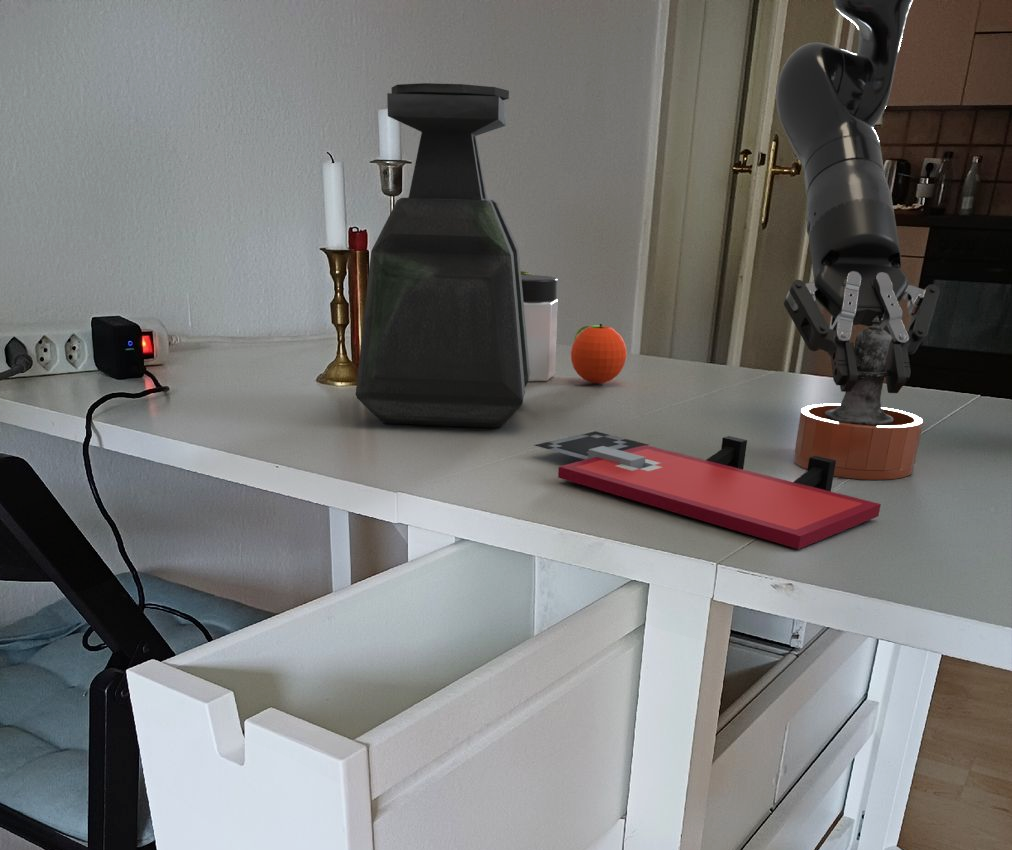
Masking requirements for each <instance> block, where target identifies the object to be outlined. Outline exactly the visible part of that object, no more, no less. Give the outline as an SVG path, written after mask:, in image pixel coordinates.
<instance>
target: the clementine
mask: <svg viewBox="0 0 1012 850" xmlns="http://www.w3.org/2000/svg"><path fill="white" fill-rule="evenodd" d="M627 356H628V355H627V346H626V343H625V341H624V339H623V337H622V335H621V334H620V333H619V332H617V331H616V330H615V328H613V327H610V326H606V325H605V326H604V325H603V323H599V325H598V324H597V325H596V324H594V325H585V326H582V327H580V328H579V329H578V330H577V332H576V333H575V335H574V338H573V344H572V346H571V351H570V359H571V364H572V367H573V369H574V371H575V372H576V373H577V375H578V376H579V377H580V378H581V379H583V380H584V381H587V382H588V383H590V384H604V383H605V384H606V383H608V382H610V381H612V380H613V379H615V378H616V377H618V375H620V373H621V371H622V370H623V368H624V366H625V364H626V360H627Z"/></svg>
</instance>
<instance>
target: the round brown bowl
mask: <svg viewBox="0 0 1012 850" xmlns="http://www.w3.org/2000/svg"><path fill="white" fill-rule="evenodd" d="M840 405H841V403H823V404H822V403H820V404H812V405H807V406H805V407H802V408H801V409H800V415H799V421H798V427H797V432H796V433H797V434H796V440H795V445H794V453H793V454H794V455H793V462H794V464H795V465H796V466H799V467H800V468H802V469H805V470H807V469H808V463H809V458H810V457H813V456H819V457H823V458H828V459H832V460H836V465H835V470H834V476H833V477H837V478H844V479H852V480H853V479H854V480H867V481H868V480H870V481H882V480H883V481H885V480H896V479H897V480H898V479H902V478H906V477H909V476H911V475H912V473H913V471H914V467H915V464H916V460H917V455H918V450H919V446H920V440H921V437H922V436H921V435H922V432H923V428H924V427H923V426H924V421H923V418H922V417H919V416H918V415H916V414H913V413H910V412H906V411H903V410H899V409H894V408H888V407H882V406H881V409H882V410H883V412H884V413H885V414H887V415H889V416H891V417H893V422H892V423H890V424H889V426H868V425H856V424H848V423H841V422H835V421H830V420H828V418H827V417H826V416H825V412H827V411H828V410H833V409H836V408H837V407H838V406H840Z"/></svg>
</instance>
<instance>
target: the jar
mask: <svg viewBox="0 0 1012 850" xmlns="http://www.w3.org/2000/svg"><path fill="white" fill-rule="evenodd" d="M521 280H522V291H523V301H524V312H525V323H526V334H527V344H528V355H529V366H530V376H529V380H528V383H529V382H548V381H549V380H550V379H551V378H553V377H554V376H555V373H556V358H557V357H556V356H557V354H556V353H557V336H558V335H557V333H558V312H559V300H558V278H557V277H555V276H551V275H550V276H548V275H538V274H532V275H521Z"/></svg>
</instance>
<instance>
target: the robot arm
mask: <svg viewBox="0 0 1012 850" xmlns="http://www.w3.org/2000/svg"><path fill="white" fill-rule="evenodd" d="M913 1H914V0H832V2H833V6H834V8H835V9H836V10H837V12H839V13H840V14H841V15H842V16H843V17H844V18H846V19H847V20H849V21H850V22H851V23H853V24H854V25H855V26H856V28H857V30H858V31H857V32H858V44H857V51H856V53H853V52H850V51H848V50H845V49H842V48H839V47H836V46H834V45H831V44H829V43H824V42H809V43H806V44H803V45H802V46H800V47H798V48H797V49H796V50H794V52H792V53H791V54H790V55H789V57H788V58H787V60H786V61H785V62H784V64H783V66H782V68H781V71H780V73H779V76H778V80H777V85H776V94H775V95H776V97H775V98H776V99H775V100H776V102H775V103H776V109H777V111H776V112H777V115H778V118H779V122H780V124H781V126H782V129H783V131H784V134H785V135H786V138H787V139H788V142H789V144H790V146H791V148H792V150H793V152H794V154H795V157H796V158H797V160H798V162H799V163H800V165H801V167H802V169H803V179H804V187H805V195H806V233H807V236H808V242H809V250H810V259H811V266H812V274H813V275H812V276H813V281H811V282H807V283H805V282H804V281H803V280H801V279H795V280H793V281H792V283H791V285H790V287H789V289H788V292H787V294H786V296H785V298H784V300H783V306H784V308H785V309H786V311H787V313H788V315H789V317H790V318H791V321H792V322H793V324H794V325H795V327H796V329H797V331H798V333H799V335H800V337H801V338H802V340H803V343H804V344H805V345H806V347H807V349H808V350H810V351H811V352H818V351H819V350H820V351H824V352H826V353H827V354H828V356H829V357H830V362H831V371H832V379H833V382H834V384H835V385H836V386H839V387H840V388H839V389H840V392H842V393H846V392H850V391H851V390H852V388H853V387H854V385H855V383H856V382H857V378H858V373H857V366H856V358H855V351H854V346H855V342H850V339H851V337H852V333H853V331H852V330H853V326H858V325H860V326H861V325H862V326H865V327H867V328H869V327H870V326H872V325H873V322H872V321H873V320H874V318H876V316H878V318H879V321H880V322H879V324H878V326H879V327H881V329H883V330H885V331H886V332H887V333H888V334H889V336H890V344H889V349H888V354H887V360H886V365H885V371H887V372H888V375H887V376H886V377H885V383H886V390H887V393H888V394H899V392H900V391H901V389H902V388H903V387H904V386H905V384H906V383H907V382H908V380H909V378H910V377H911V373H912V372H911V365H910V358H909V355H914V354H915V353H916V352H917V351H918V349H919V346H920V345H921V343H923V341H924V340H925V339H926V338H927V336H928V334H929V330H930V327H931V323H932V320H933V316H934V313H935V310H936V306H937V302H938V299H939V296H940V291H941V289H940V288H939V286H937V285H936V284H928V285H927V286H926V287H925V288H921V287H918V286H915V285H912V284H910V282H909V278H908V277H907V275H906V274H905V273H904V272H903V270H902V255H901V254H902V253H901V247H900V246H901V245H900V241H899V235H898V228H897V221H896V215H895V210H894V202H893V197H892V193H891V189H890V186H889V183H888V181H887V178H886V173H885V168H884V162H883V153H882V147H881V143H880V140H879V136H878V134H877V132H876V130H875V129H874V127H875V126H876V125H877V123H878V122H879V120H880V119H881V117H882V116H883V114H884V112H885V109H886V107H887V105H888V102H889V99H890V95H891V91H892V87H893V83H894V77H895V72H896V67H897V66H896V65H897V60H898V56H899V51H900V47H901V44H902V43H901V42H902V40H903V39H902V38H903V34H904V29H905V25H906V21H907V17H908V14H909V10H910V8H911V5H912V3H913ZM901 300H904V301H905V302H906V309H907V310H908V311H907V315H909V316H911V317H910V321H909V324H908V327H907V328H906V327H905V324H904V322H903V310H902V307H901V305H900V302H901ZM816 301H817V302H816ZM817 303H819V305H820V306H822V308H824V309H825V311H826V312H827V313H829V315H830V321H829V323H828V321H827V320H826V318H825V316H824V314H823V313H822V310H820V307H819V305H818V304H817Z"/></svg>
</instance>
